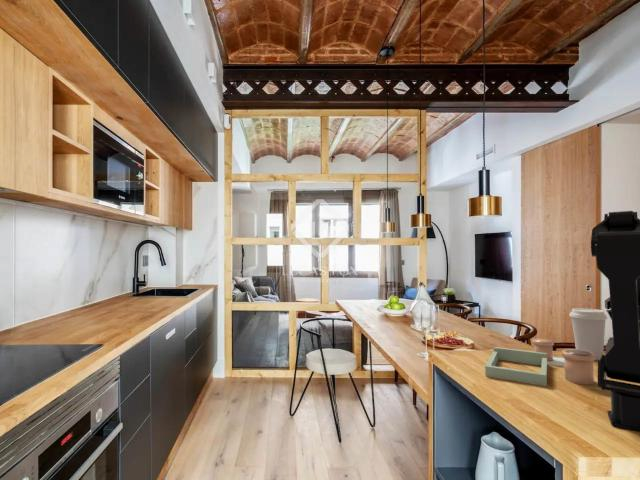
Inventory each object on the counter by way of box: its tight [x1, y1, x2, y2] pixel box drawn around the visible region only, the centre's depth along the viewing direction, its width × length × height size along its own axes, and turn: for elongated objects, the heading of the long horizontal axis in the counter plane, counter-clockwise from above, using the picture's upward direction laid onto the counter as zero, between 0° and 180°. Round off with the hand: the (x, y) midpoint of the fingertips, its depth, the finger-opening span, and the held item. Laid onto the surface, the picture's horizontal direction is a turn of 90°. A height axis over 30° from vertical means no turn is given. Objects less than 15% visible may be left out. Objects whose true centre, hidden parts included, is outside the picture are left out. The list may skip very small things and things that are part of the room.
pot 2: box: [561, 348, 596, 386], centre depth 91 cm, size 7×7×8 cm
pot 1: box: [532, 337, 555, 361], centre depth 109 cm, size 6×6×6 cm
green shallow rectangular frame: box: [484, 346, 548, 387], centre depth 99 cm, size 18×14×4 cm
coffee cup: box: [569, 307, 608, 361], centre depth 110 cm, size 10×10×15 cm
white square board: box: [547, 355, 565, 368], centre depth 108 cm, size 10×12×1 cm
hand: (630, 345), depth 82 cm, fingers open, 9 cm apart
